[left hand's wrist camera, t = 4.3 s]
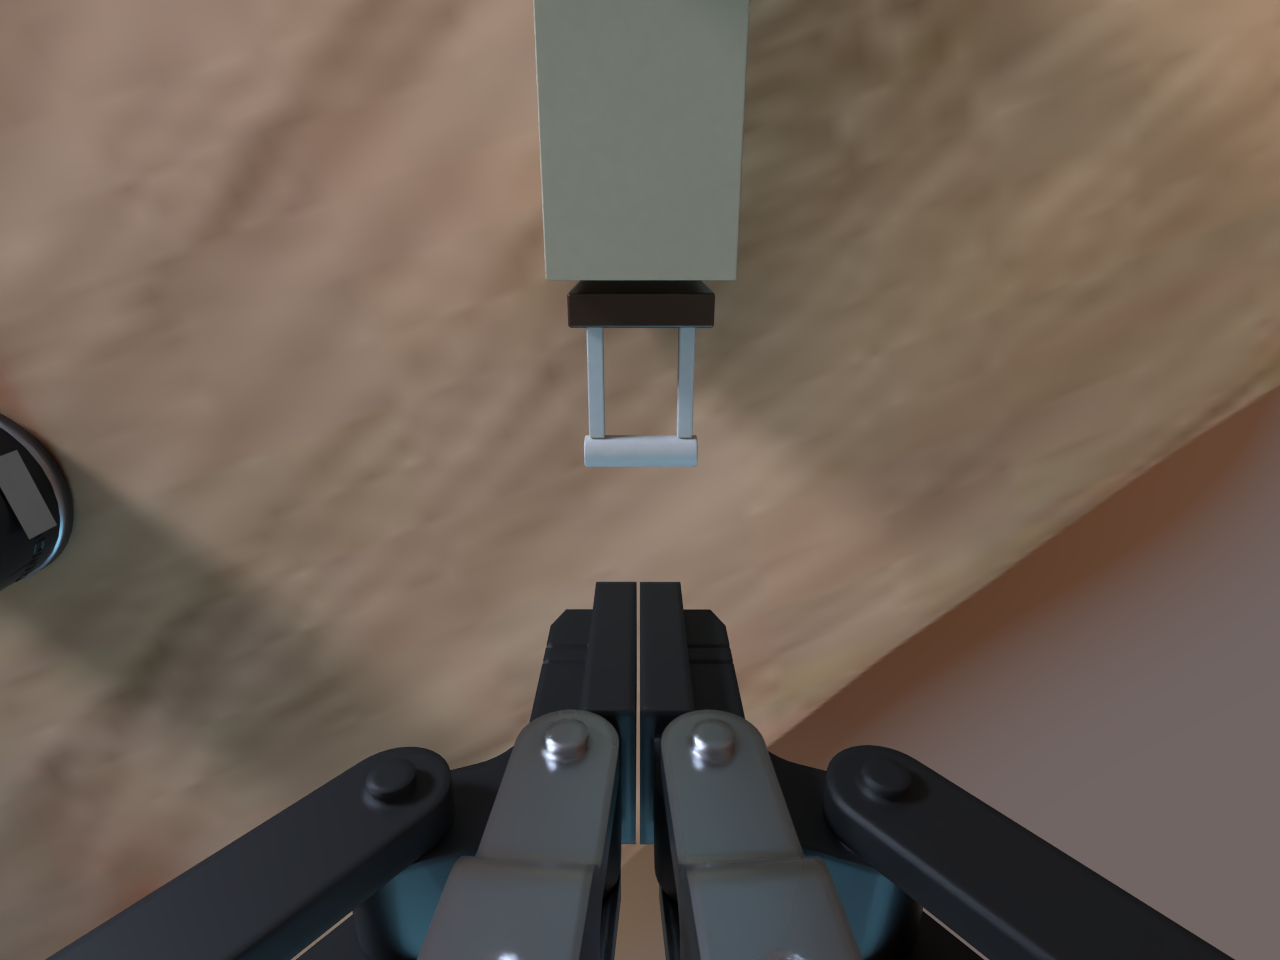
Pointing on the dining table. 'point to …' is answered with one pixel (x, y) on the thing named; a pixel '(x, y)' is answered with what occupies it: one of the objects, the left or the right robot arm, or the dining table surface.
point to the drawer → (640, 309)
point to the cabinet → (641, 137)
